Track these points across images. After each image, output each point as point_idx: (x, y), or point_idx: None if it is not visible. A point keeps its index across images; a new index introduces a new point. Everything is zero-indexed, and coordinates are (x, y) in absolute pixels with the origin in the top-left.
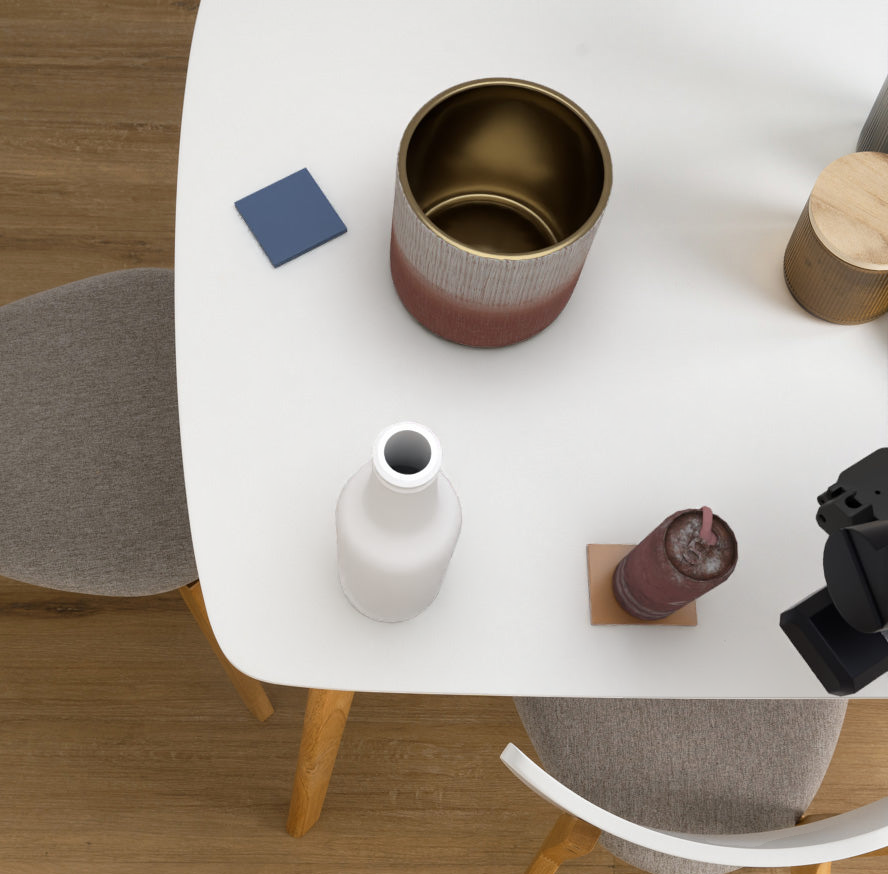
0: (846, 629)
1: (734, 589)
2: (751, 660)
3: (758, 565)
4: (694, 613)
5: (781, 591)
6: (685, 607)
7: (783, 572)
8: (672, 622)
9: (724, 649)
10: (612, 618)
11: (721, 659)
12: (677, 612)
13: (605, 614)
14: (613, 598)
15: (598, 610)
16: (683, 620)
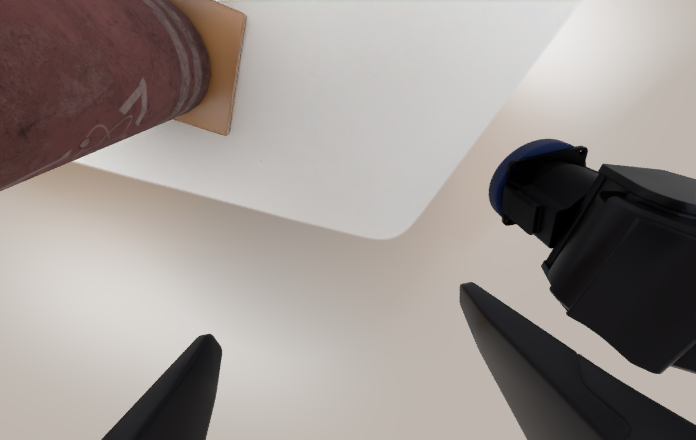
0: None
1: (294, 105)
2: (285, 189)
3: (339, 84)
4: (224, 121)
5: (352, 128)
6: (214, 108)
7: (366, 105)
8: (191, 122)
9: (258, 170)
10: None
11: (251, 179)
12: (201, 112)
13: None
14: None
15: None
16: (207, 125)
